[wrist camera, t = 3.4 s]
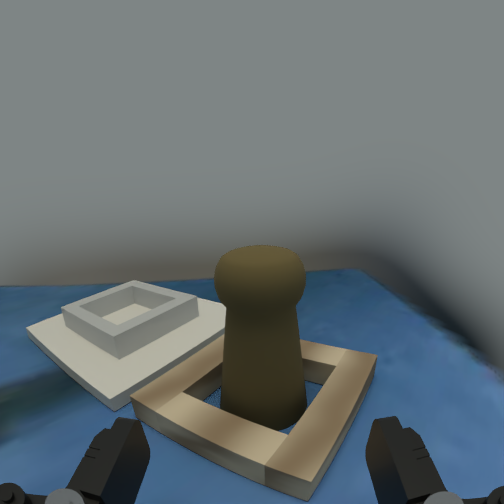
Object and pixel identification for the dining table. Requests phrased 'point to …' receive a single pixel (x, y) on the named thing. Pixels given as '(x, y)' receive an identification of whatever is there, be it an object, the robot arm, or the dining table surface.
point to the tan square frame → (254, 435)
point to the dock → (127, 337)
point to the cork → (262, 335)
